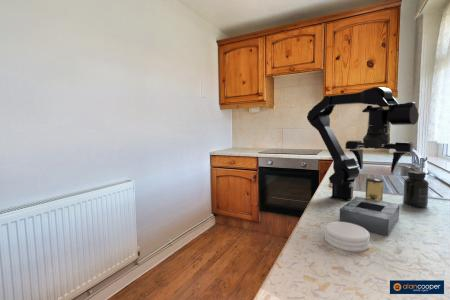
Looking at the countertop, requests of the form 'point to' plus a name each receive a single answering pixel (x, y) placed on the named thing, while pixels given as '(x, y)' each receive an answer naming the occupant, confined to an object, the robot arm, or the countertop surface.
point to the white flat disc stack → (347, 236)
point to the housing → (371, 214)
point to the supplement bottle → (415, 190)
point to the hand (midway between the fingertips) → (376, 170)
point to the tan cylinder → (374, 188)
